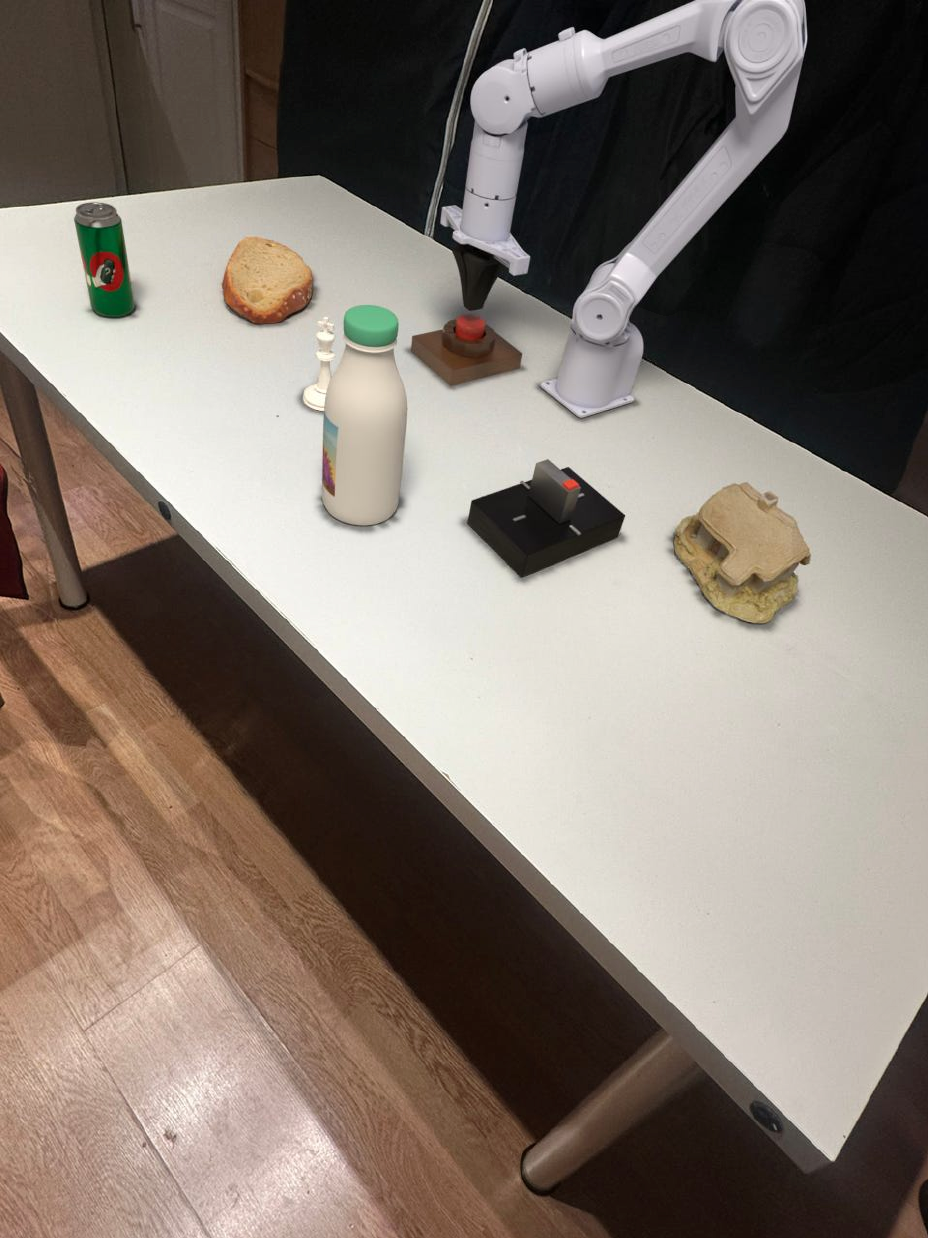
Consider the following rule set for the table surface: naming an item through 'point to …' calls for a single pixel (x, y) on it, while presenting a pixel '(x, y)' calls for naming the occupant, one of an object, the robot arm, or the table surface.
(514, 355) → the brown button base
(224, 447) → the table surface
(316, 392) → the chess piece
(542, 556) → the panel
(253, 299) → the slice of bread
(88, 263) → the soda can
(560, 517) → the knob
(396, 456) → the milk bottle
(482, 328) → the button
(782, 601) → the ceramic model
